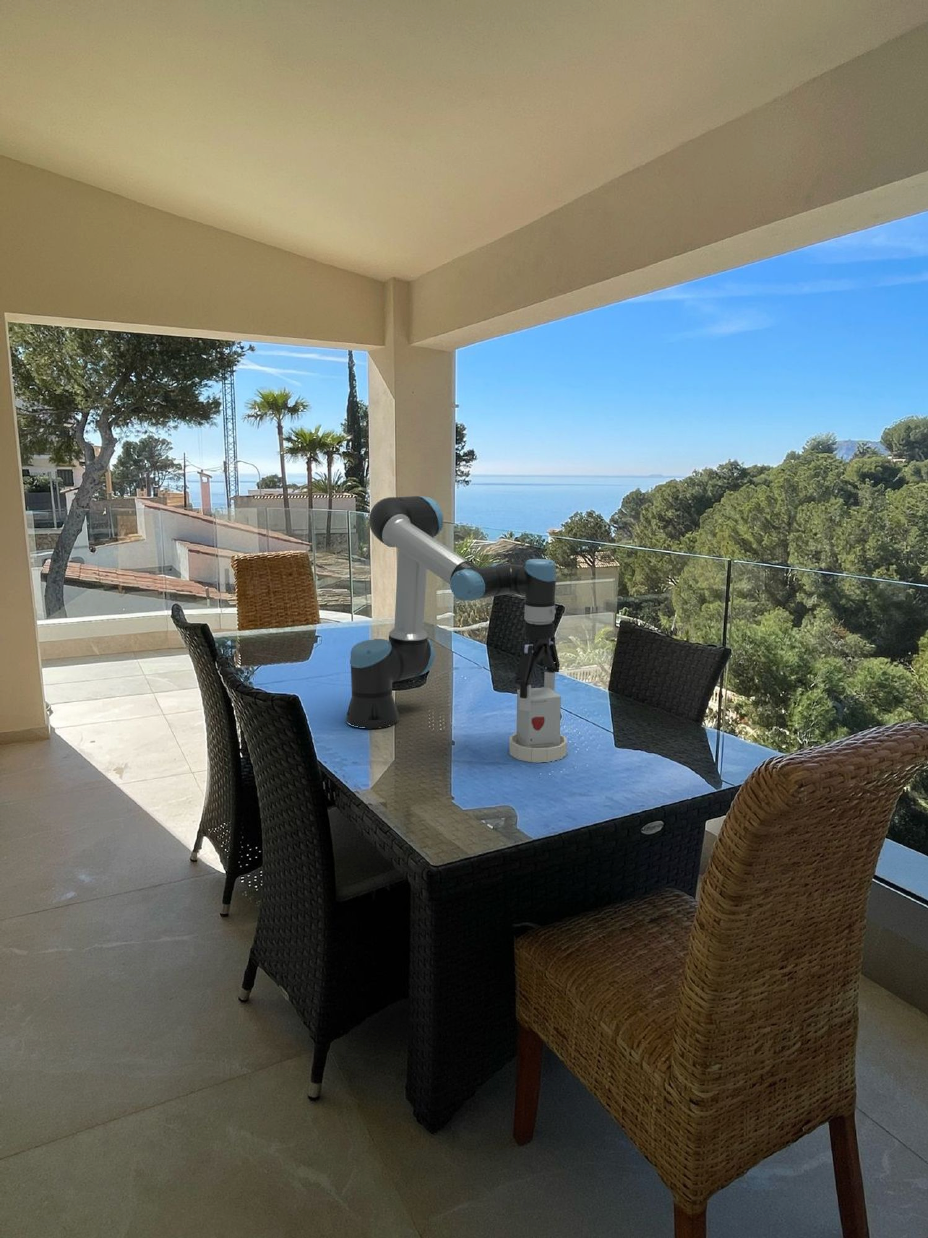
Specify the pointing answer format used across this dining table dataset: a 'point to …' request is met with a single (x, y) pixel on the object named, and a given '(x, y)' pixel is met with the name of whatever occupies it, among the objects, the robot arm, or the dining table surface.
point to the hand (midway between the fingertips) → (537, 703)
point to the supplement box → (539, 720)
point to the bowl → (537, 751)
